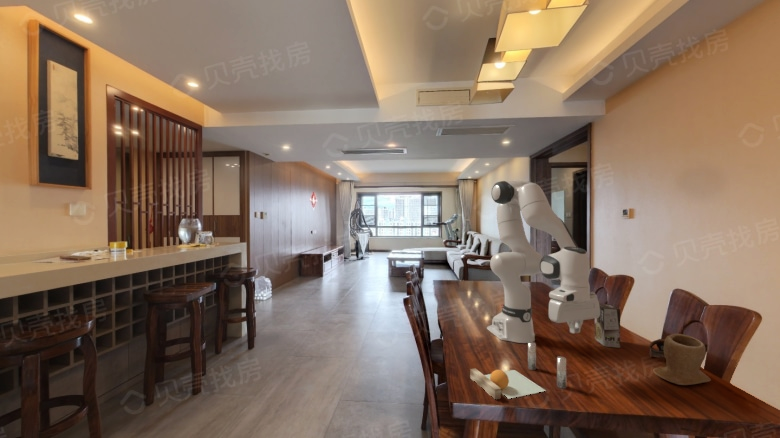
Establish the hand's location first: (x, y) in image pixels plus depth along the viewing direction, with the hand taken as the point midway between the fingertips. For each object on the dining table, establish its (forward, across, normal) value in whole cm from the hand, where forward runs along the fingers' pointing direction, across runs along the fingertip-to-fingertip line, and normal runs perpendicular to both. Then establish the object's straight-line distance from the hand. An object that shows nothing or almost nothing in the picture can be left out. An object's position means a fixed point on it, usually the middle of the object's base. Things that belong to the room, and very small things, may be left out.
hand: (575, 332), depth 107 cm
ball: (+11, +33, +1) cm, 34 cm away
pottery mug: (+14, -43, +3) cm, 45 cm away
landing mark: (+14, +27, 0) cm, 30 cm away
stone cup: (+14, -29, +16) cm, 36 cm away
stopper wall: (+14, +37, -1) cm, 39 cm away
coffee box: (+14, -36, -15) cm, 41 cm away
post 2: (+14, +13, +6) cm, 20 cm away
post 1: (+14, +13, -6) cm, 20 cm away
